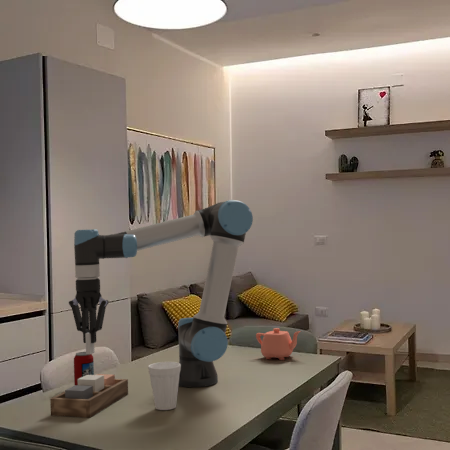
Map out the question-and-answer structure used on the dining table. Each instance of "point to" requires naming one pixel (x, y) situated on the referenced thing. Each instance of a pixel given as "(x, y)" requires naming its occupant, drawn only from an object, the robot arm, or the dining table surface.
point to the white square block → (92, 381)
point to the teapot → (277, 343)
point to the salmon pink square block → (108, 379)
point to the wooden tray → (89, 401)
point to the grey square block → (79, 392)
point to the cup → (165, 383)
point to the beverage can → (83, 365)
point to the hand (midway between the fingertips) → (90, 353)
